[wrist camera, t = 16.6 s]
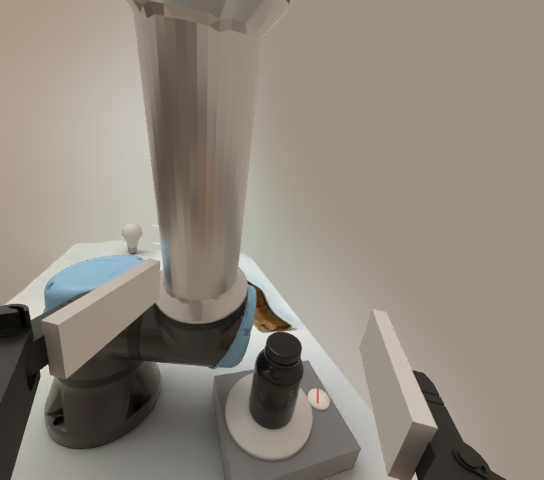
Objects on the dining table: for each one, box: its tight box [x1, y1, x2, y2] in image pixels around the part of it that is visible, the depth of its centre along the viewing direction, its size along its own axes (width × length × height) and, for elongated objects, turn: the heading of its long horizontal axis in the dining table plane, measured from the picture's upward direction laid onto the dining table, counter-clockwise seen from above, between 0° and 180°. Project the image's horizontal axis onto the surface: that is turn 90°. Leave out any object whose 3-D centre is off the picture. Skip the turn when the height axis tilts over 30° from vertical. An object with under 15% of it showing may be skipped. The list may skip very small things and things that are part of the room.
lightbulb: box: [122, 223, 142, 254], centre depth 88 cm, size 6×6×11 cm
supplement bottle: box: [249, 332, 304, 430], centre depth 36 cm, size 7×7×12 cm
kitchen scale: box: [213, 361, 361, 480], centre depth 40 cm, size 18×16×5 cm
